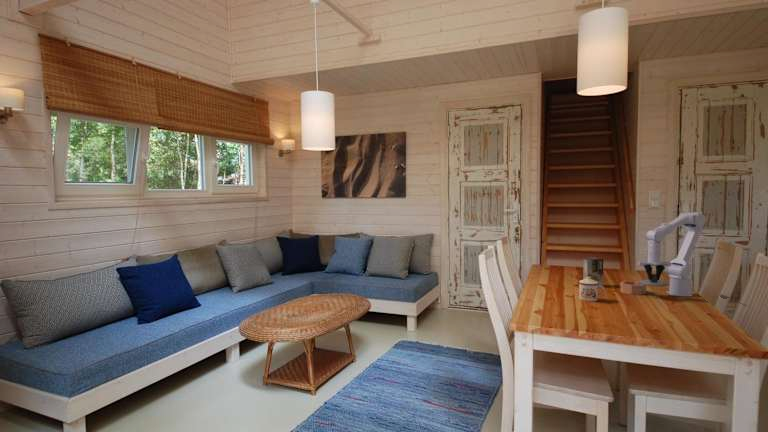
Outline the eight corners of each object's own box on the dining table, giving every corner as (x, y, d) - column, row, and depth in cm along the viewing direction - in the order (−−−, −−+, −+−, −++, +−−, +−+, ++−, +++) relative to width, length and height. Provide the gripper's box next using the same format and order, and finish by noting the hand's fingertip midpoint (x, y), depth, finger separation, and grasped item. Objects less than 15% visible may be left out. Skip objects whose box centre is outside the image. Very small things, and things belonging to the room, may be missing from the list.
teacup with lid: (578, 300, 219) (579, 277, 218) (578, 296, 227) (578, 274, 226) (605, 303, 214) (605, 279, 213) (604, 298, 222) (604, 276, 222)
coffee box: (598, 284, 254) (599, 257, 253) (603, 287, 247) (603, 259, 246) (582, 284, 255) (583, 257, 254) (586, 287, 248) (587, 259, 247)
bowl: (640, 290, 239) (640, 281, 238) (647, 295, 228) (648, 285, 228) (618, 289, 241) (618, 280, 241) (624, 294, 230) (625, 285, 230)
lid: (662, 281, 229) (662, 272, 229) (673, 286, 216) (673, 277, 216) (635, 280, 232) (635, 271, 231) (645, 285, 219) (645, 276, 219)
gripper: (641, 254, 221) (641, 280, 222) (673, 255, 218) (672, 281, 219) (636, 252, 228) (636, 278, 229) (667, 252, 225) (666, 278, 226)
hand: (653, 279), depth 224 cm, fingers closed on lid, 3 cm apart
